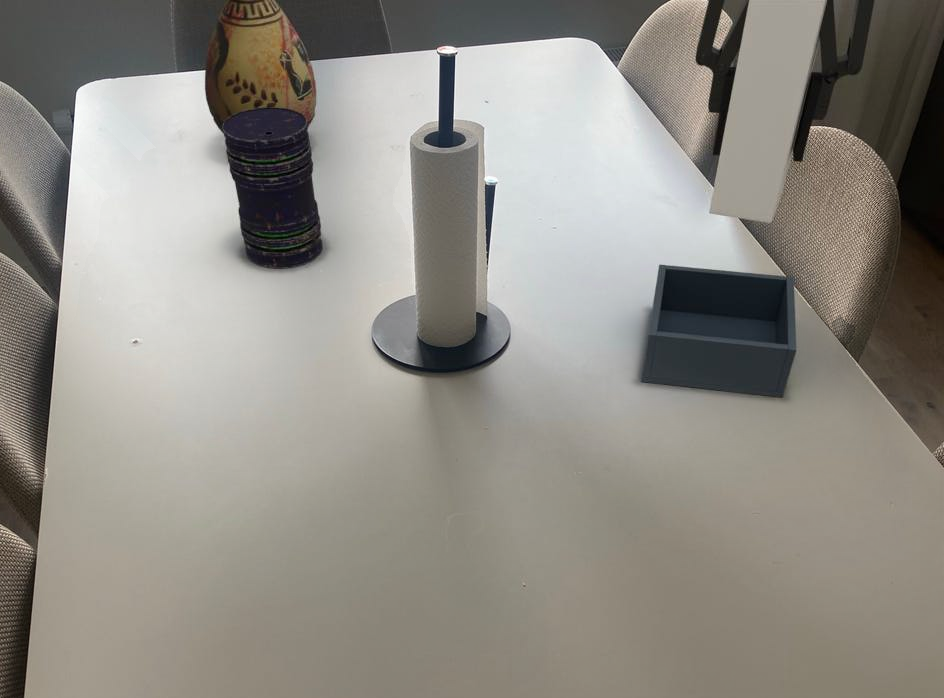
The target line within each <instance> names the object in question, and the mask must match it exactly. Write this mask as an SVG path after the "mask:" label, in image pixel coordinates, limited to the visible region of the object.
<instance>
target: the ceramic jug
mask: <svg viewBox="0 0 944 698" xmlns="http://www.w3.org/2000/svg"><path fill="white" fill-rule="evenodd" d="M314 74H315V73H314V69H313V66H312V64H311V60H310V57H309V55H308V52H307V50H306V47H305V46H304V42H303V41H302V40H301V38H300V37H299V34H298V32H297V31H296V30H295V28H294V26H293V25H292V23H291V21H290V20H289V19H288V17H287V15H286V13H285V12H284V11H283V9H282V8H281V7H280V5H279V3H277V2H276V0H225V2H224V6H223V9H222V11H221V13H220V15H219V17H218V19H217V23H216V25H215V27H214V30H213V32H212V35H211V38H210V41H209V43H208V48H207V53H206V59H205V71H204V92H205V100H206V103H207V107H208V110H209V113H210V115H211V117H212V118H213V122H214V123H215V125H216V127H217V128H218V130H219V131H220V132H221V133H222V134H223V135H224V133H223V127H222V126H223V123H224V122H225V120H226V119H228V118H229V117H230V116H232V115H234V114H236V113H239V112H242V111H245V110H250V109H255V108H265V107H278V108H286V109H291V110H295V111H297V112H299V113H301V114H303V115H304V116H305V117H306V119H307V125H308V128H309V127H310V125H311V124H312V123H313V121H314V119H315V116H316V107H317V83H316V79H315V75H314Z"/></svg>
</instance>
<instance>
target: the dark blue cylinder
mask: <svg viewBox="0 0 944 698" xmlns="http://www.w3.org/2000/svg"><path fill="white" fill-rule="evenodd" d="M222 127H223V133H224V134H223V133H222V134H223V137H224V143H225V153H226V157H227V163H228V164H229V173H230V175H231V178H232V180H233V182H234V185H235V190H236V196H237V201H238V209H237V211H238V218H239V226H240V227H239V228H240V232H241V236H242V238H243V243H244V245H245V255H246V257H247V258H248V260H249V261H250V262H252V263H253V264H255V265H257V266H260V267H264V268H269V269H278V270H279V269H291V268H296V267H301V266H303V265H306V264H309V263H311V262H313V261H314V260H316V259H317V258H318V257H319V256H320V255H321V254H322V252H323V247H324V246H323V241H322V238H321V237H322V232H321V231H322V224H321V217H320V214H319V206H318V205H319V204H318V203H317V200H316V198H315V190H314V182H313V175H312V174H313V173H314V169H313V168H314V162H313V158H312V157H313V156H312V155H313V151H312V144H311V142H310V135H309V134H310V133H309V130H308V129H309V127H308V125H307V119H306V117H305V116H304V115H303V114H301V113H299V112H297V111H295V110H291V109H286V108H278V107H265V108H255V109H250V110H245V111H242V112H239V113H236V114H234V115H232V116H230V117H229V118H228V119H226V120H225V122H224V123H223V126H222Z"/></svg>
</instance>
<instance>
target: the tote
mask: <svg viewBox="0 0 944 698" xmlns="http://www.w3.org/2000/svg"><path fill="white" fill-rule="evenodd" d="M653 295H654V296H653V301H652V303H653V304H652V308H651V315H650V322H649V328H648V334H647V335H648V336H647V341H646V349H645V355H644V361H643V368H642V375H641V383H649V384H659V385H667V386H677V387H684V388H695V389H704V390H712V391H721V392H731V393H740V394H749V395H759V396H767V397H776V398H783V397H784V394H785V391H786V390H785V389H786V387H787V384H788V380H789V377H790V374H791V370H792V367H793V363H794V359H795V357H796V353H797V329H796V327H797V326H796V301H795V277H794V276H789V275H788V276H785V275H777V274H765V273H753V272H743V271H733V270H723V269H714V268H713V269H712V268H711V269H710V268H703V267H691V266H679V265H669V264H667V265H666V264H659V265H658V270H657V276H656V284H655V289H654V294H653Z"/></svg>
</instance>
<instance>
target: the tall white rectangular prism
mask: <svg viewBox="0 0 944 698" xmlns="http://www.w3.org/2000/svg"><path fill="white" fill-rule="evenodd" d="M826 3H827V0H749V4H748V9H747V15H746V20H745V25H744V30H743V36H742V41H741V46H740V49H739V51H738V52H739V53H738V58H737V63H736V66H735V67H736V73H735V78H734V83H733V89H732V94H731V99H730V104H729V110H728V115H727V120H726V126H725V131H724V136H723V141H722V147H721V152H720V155H719V158H718V163H717V169H716V173H715V179H714V184H713V188H712V189H713V190H712V195H711V200H710V205H709V210H708V213H709V214H711V215H717V216H723V217H729V218H736V219H741V220H748V221H753V222H754V221H755V222H759V223H767V224H771V223H773V221H774V217H775V215H776V212H777V210H778V206H779V204H780V201H781V199H782V196H783V194H784V193H783V192H784V189H785V184H786V180H787V176H788V173H789V172H788V171H789V167H790V163H791V160H792V157H793V146H794V142H795V138H796V134H797V130H798V126H799V122H800V118H801V114H802V110H803V106H804V101H805V97H806V93H807V89H808V85H809V81H810V77H811V73H812V72H813V69H814V65H815V61H816V58H817V53H818V50H819V49H818V48H819V46H820V27H821V23H822V19H823V15H824V11H825V7H826Z"/></svg>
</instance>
